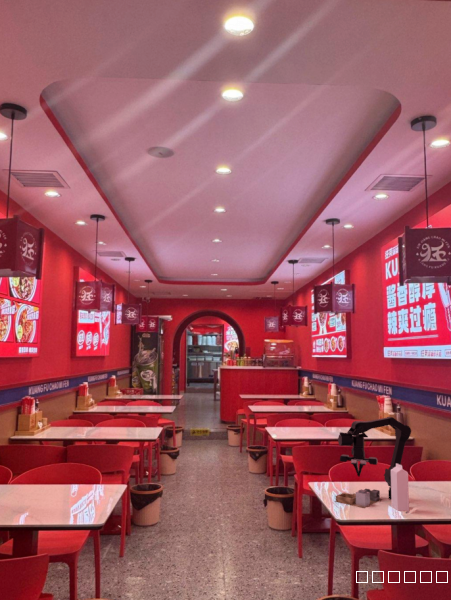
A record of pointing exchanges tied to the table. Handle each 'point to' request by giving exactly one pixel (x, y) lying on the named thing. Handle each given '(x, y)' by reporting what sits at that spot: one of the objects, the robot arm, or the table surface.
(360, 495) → the block
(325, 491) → the table surface
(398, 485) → the milk
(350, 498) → the frame
